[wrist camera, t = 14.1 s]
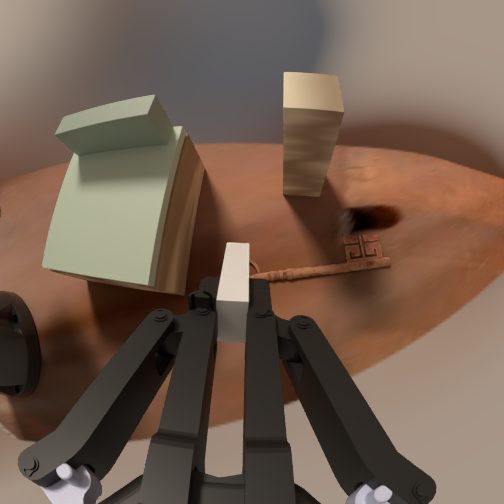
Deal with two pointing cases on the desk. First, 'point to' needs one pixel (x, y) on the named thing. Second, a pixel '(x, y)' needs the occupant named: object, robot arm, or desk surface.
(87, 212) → the lid
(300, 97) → the block
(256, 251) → the desk surface
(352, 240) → the key
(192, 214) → the light wooden box
